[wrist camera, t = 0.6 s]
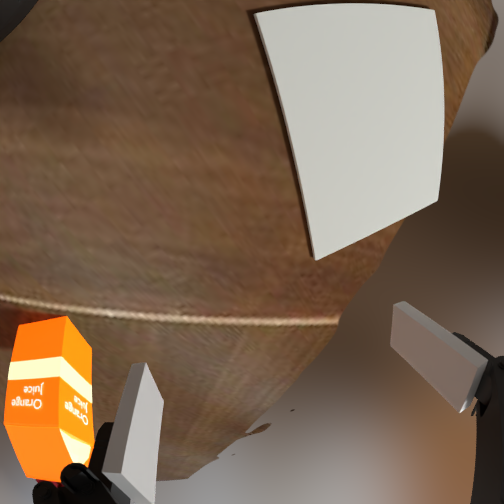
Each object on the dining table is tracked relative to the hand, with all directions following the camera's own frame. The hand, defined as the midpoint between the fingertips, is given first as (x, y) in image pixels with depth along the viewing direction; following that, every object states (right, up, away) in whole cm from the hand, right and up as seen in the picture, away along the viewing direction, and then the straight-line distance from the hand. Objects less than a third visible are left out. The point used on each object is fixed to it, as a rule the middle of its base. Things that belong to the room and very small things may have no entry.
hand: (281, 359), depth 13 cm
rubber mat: (+13, +19, +13) cm, 26 cm away
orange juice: (-28, -6, +17) cm, 33 cm away
